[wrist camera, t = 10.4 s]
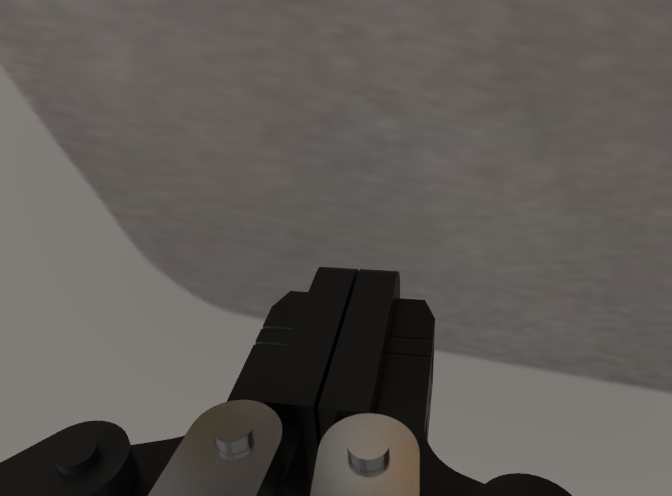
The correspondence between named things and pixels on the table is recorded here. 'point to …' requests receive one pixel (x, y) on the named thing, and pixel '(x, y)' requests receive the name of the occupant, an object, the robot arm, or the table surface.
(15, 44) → the table surface
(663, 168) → the table surface
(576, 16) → the table surface
